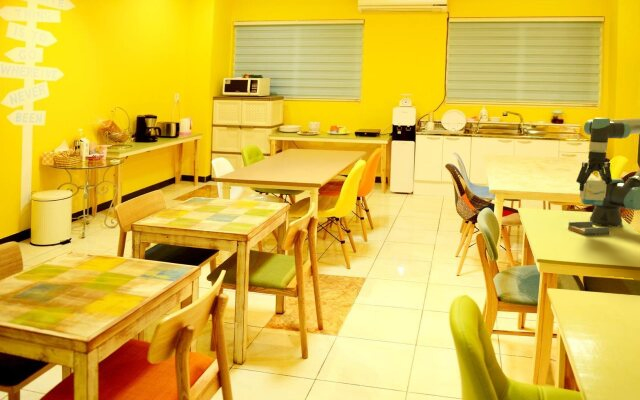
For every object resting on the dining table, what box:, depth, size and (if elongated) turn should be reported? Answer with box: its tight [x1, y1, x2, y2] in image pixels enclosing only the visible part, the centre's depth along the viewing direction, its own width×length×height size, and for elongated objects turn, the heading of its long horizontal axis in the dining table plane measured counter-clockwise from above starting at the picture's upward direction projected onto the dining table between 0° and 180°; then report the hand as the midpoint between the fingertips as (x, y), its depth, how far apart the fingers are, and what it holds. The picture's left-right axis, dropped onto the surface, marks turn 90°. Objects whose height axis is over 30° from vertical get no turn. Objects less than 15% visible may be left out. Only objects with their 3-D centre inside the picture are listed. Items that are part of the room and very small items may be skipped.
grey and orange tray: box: [567, 220, 611, 237], centre depth 300 cm, size 13×13×4 cm
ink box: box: [580, 177, 606, 206], centre depth 296 cm, size 9×8×12 cm
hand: (592, 197), depth 297 cm, fingers closed on ink box, 10 cm apart
